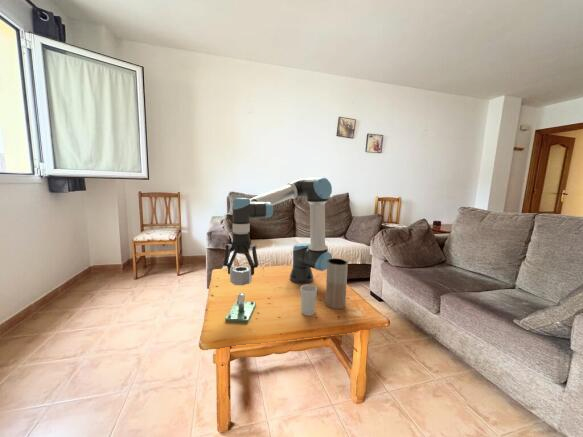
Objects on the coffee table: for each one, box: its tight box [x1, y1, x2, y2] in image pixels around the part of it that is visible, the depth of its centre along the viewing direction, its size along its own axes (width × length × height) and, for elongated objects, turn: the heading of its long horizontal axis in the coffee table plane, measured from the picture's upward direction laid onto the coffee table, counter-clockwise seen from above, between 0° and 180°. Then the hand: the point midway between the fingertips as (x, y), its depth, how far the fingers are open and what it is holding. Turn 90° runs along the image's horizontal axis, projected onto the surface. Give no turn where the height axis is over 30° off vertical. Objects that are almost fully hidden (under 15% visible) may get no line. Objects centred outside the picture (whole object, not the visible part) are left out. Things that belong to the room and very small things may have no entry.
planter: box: [325, 257, 349, 310], centre depth 120 cm, size 10×10×23 cm
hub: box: [230, 265, 250, 286], centre depth 108 cm, size 8×8×6 cm
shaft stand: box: [224, 292, 257, 324], centre depth 110 cm, size 10×16×9 cm, turn 176°
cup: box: [299, 284, 318, 316], centre depth 112 cm, size 8×8×12 cm
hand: (241, 281), depth 109 cm, fingers closed on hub, 8 cm apart
